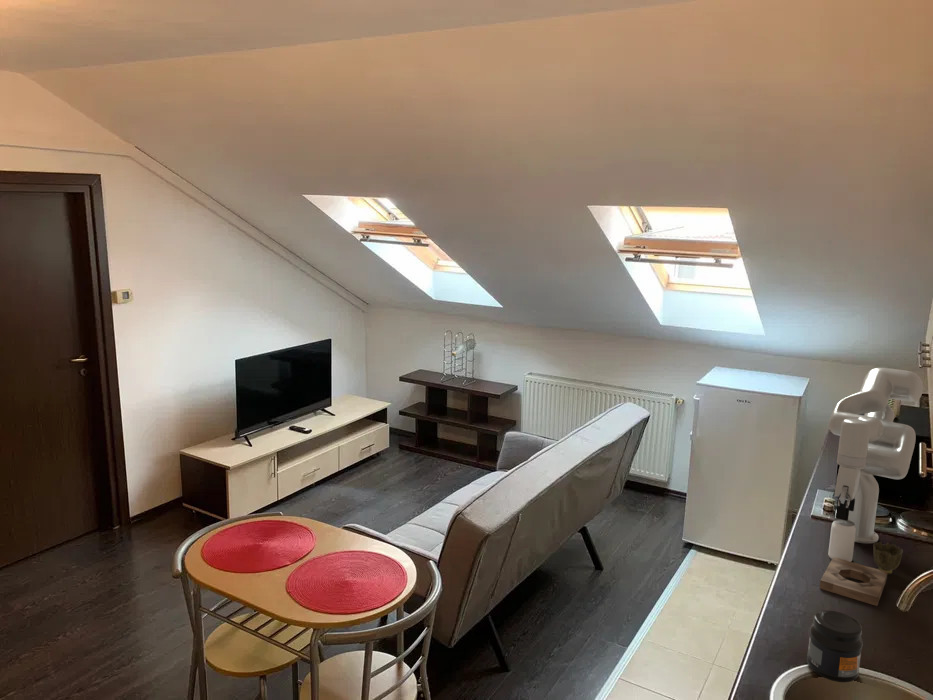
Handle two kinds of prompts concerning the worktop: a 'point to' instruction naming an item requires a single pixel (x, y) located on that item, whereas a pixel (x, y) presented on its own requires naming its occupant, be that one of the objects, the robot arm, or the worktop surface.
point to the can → (842, 539)
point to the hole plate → (859, 591)
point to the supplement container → (835, 646)
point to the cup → (887, 556)
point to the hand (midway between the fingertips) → (844, 514)
